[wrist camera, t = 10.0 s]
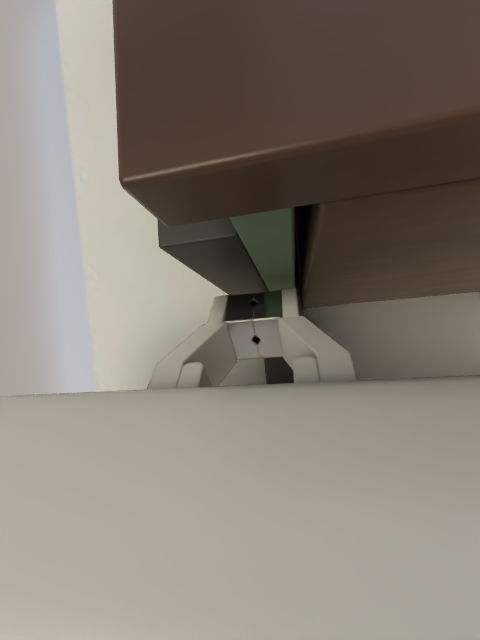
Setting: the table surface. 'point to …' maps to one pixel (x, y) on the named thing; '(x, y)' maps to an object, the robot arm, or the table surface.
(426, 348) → the table surface
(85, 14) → the table surface
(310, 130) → the cabinet
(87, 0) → the table surface
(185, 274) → the table surface
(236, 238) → the door
